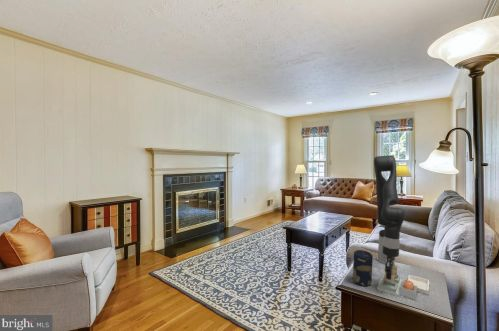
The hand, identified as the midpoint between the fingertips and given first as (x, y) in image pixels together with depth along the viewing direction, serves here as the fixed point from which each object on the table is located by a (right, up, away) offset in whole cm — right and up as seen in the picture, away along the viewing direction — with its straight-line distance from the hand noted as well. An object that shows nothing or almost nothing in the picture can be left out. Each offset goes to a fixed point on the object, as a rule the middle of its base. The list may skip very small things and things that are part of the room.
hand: (389, 277), depth 129 cm
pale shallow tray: (+18, -7, +4) cm, 19 cm away
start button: (+8, -7, -4) cm, 11 cm away
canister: (-11, -6, +7) cm, 15 cm away
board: (+3, -7, +5) cm, 9 cm away
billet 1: (0, -1, 0) cm, 1 cm away
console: (+8, -7, -4) cm, 11 cm away
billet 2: (+7, -5, +9) cm, 12 cm away
